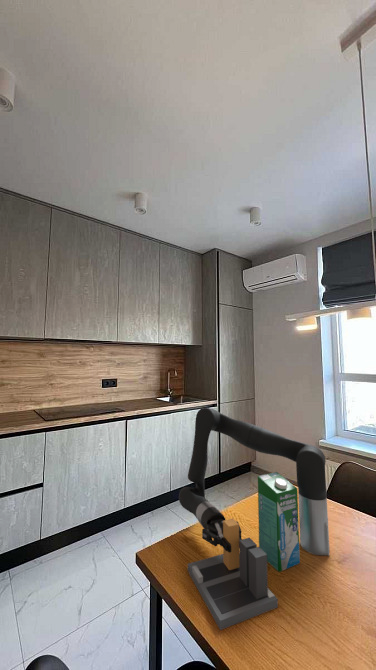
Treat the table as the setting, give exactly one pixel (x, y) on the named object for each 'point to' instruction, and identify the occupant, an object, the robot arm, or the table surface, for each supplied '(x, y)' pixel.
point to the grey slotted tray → (234, 585)
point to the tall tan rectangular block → (233, 538)
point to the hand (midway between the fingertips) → (236, 547)
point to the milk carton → (278, 521)
